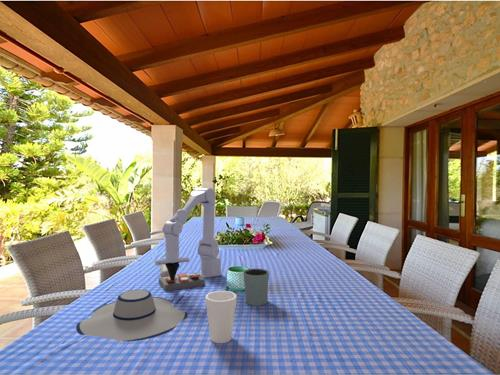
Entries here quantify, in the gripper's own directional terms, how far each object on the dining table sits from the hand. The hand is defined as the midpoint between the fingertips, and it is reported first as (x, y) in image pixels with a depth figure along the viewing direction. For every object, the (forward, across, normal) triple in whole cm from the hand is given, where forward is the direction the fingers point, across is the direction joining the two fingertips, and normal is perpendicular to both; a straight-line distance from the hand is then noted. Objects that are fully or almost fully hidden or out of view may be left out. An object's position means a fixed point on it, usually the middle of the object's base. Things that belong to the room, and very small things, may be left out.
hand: (172, 279), depth 150 cm
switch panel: (+4, +6, +5) cm, 9 cm away
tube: (+4, +3, +27) cm, 27 cm away
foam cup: (+5, +2, -52) cm, 52 cm away
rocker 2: (0, +6, +2) cm, 6 cm away
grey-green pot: (+4, +26, -30) cm, 40 cm away
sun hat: (+5, -19, -24) cm, 31 cm away
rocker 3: (0, +11, +2) cm, 11 cm away
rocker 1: (0, 0, +2) cm, 3 cm away
